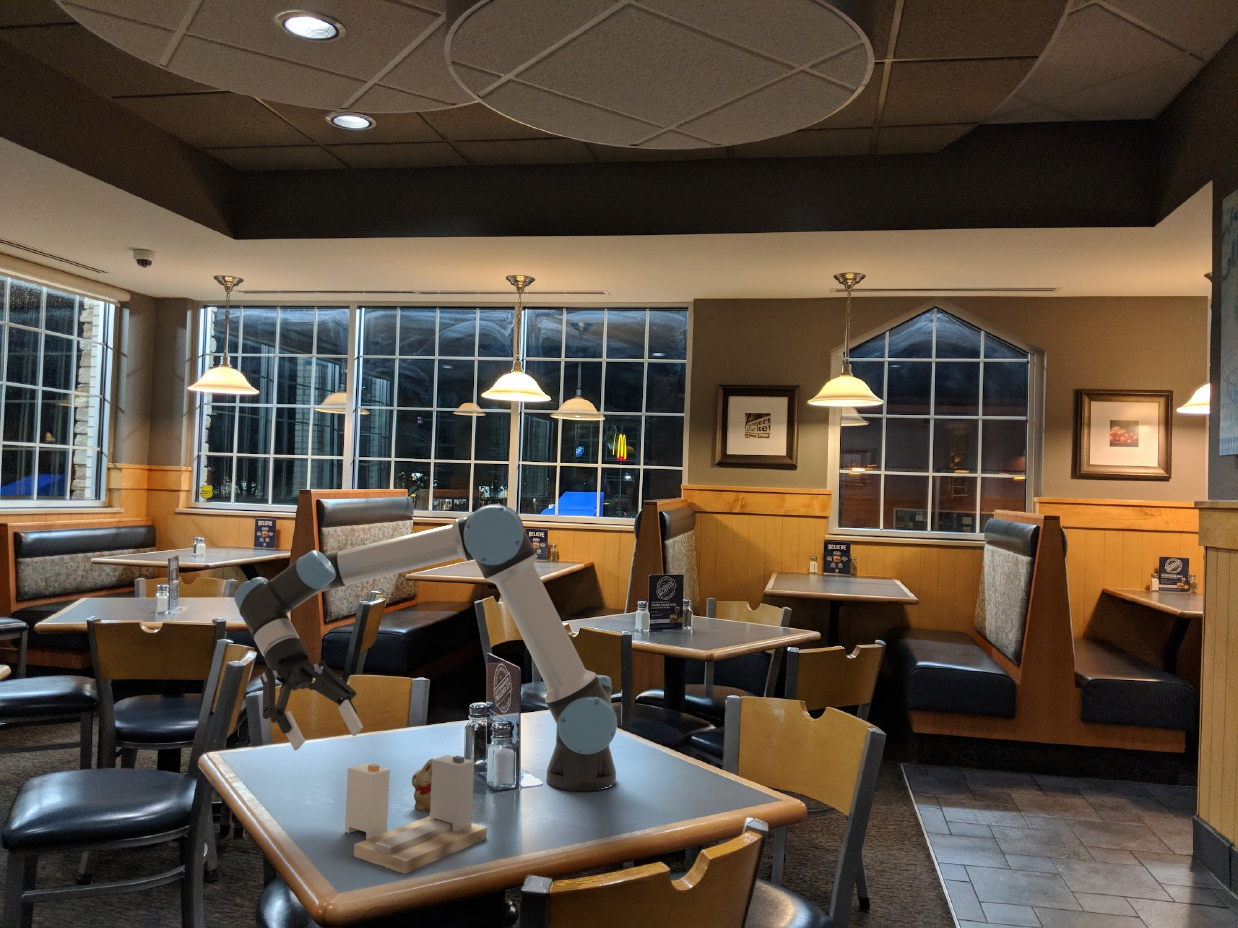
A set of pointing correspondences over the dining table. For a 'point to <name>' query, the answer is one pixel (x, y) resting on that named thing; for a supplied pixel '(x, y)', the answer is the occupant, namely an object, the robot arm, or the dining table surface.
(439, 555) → the robot arm
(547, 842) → the dining table surface
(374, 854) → the rail board
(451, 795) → the fitted module
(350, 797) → the block
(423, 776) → the chocolate bunny
